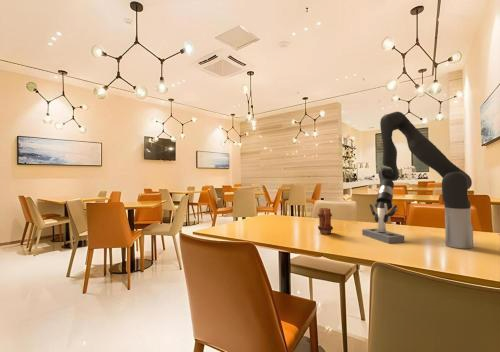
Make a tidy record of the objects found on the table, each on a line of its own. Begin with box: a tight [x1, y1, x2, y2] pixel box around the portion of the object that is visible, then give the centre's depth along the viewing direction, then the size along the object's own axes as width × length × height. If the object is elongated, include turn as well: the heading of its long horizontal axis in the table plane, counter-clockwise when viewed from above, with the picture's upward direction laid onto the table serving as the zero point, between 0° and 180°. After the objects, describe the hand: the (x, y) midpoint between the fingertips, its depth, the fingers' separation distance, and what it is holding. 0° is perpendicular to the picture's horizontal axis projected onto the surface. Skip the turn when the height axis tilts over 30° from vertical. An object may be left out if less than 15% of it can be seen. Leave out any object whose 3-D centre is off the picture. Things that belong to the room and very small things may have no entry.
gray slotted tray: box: [361, 227, 406, 244], centre depth 140 cm, size 9×20×3 cm, turn 13°
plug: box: [377, 202, 387, 232], centre depth 139 cm, size 3×3×15 cm
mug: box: [317, 207, 334, 235], centre depth 152 cm, size 15×8×15 cm, turn 172°
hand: (380, 221), depth 138 cm, fingers closed on plug, 3 cm apart
